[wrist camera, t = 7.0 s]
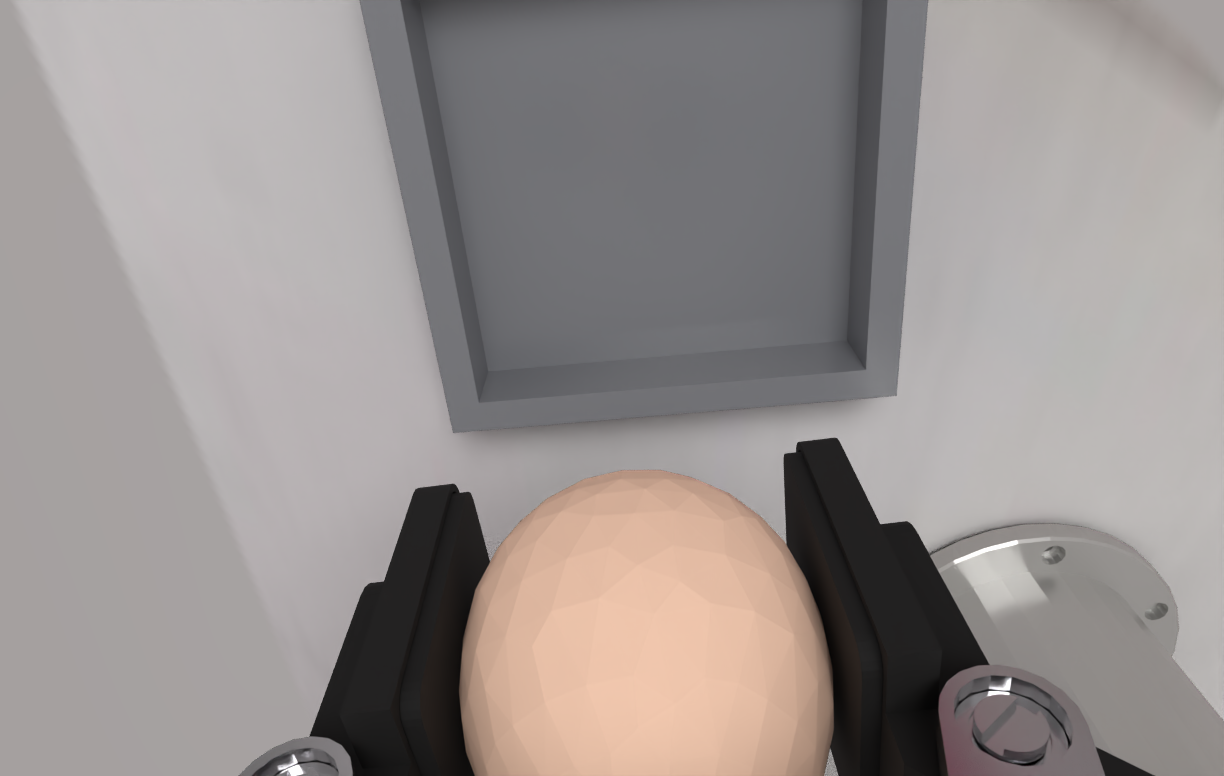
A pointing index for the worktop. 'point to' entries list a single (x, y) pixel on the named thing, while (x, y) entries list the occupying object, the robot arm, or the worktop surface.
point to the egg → (645, 640)
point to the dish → (654, 199)
